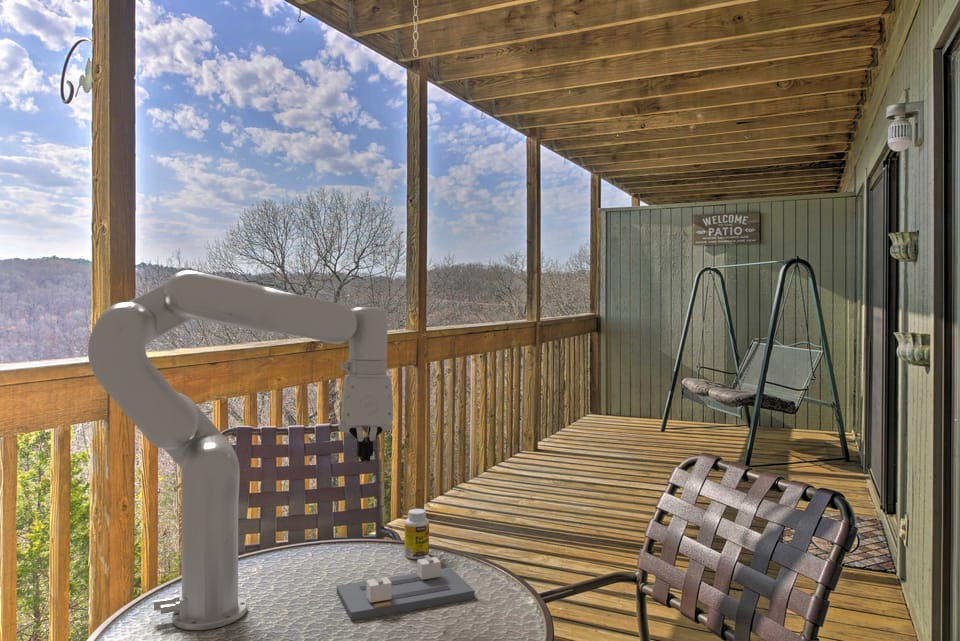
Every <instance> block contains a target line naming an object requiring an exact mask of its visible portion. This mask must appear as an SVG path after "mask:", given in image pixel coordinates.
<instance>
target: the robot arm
mask: <svg viewBox="0 0 960 641" xmlns="http://www.w3.org/2000/svg"><path fill="white" fill-rule="evenodd" d="M192 320H199V321H204V322H209V323H214V324H220V325H225V326H228V327H229V326H230V327H234V328H238V329H239V328H240V329H244V330H250V331H254V332H260V333H275V334H277V333H279V334H284V335H290V336H295V337H300V338H307V339H311V340H315V341H316V340H317V341H320V342H321V343H322V342H323V343H327V344H328V343H329V344H334V345H335V344H336V345H337V344H343V343H346V342H348V343H349V344H348V359H347V360H346V362H341V363H340V369H341V370H344V371H346V372H347V374H345V375H344V378H343V382H342V388H341V394H340V404H339V423H338V426H337V427H338V428H337V429H338V431H339V432H342V433H348V434H350V435H352V436H353V438H355V439H356V457H358V459H359V461H360V462H362V463H364V462H365V461H366V462H371V457H373V456H374V442H375V441H376V438H377V437H379V435H380V434H381V433H384V432H388V431H391V430H393V420H394V399H393V397H394V396H393V386H392V385H393V384H392V378H391V375H387V359H388V358H387V357H388V354H387V353H388V332H389V331H388V326H389V321H388V320H389V314H388V311H387V310H386V309H384V307H383V308H382V307H375V306H373V307H372V306H369V307H368V306H358V307H354V308H353V307H352V308H351V307H349V306H346V305H345V304H341V303H338V302H335V301H334V302H333V301H329V300H326V299H325V300H324V299H320V298H316V297H310V296H306V295H302V294H301V295H300V294H296V293H293V292H288V291H284V290H280V289H276V288H273V287H269V286H263V285H260V284H256V283H255V284H254V283H250V282H246V281H241V280H236V279H232V278H227V277H224V276H223V277H222V276H219V275H215V274H209V273H205V272H202V271H201V272H200V271H197V270H182V271H178V272H175V274H173V275H171V277H170V278H169V279H168V280H167V281H165V282H164V283H162V284H160V285H159V286H157V287H155V288H153V289H151V290H149V291H147V292H145V293H143V294H141V295H139V296H138V297H135V298H133V299H131V300H128V301H125V302H118V303H115V304H113V305H110V306H109V307H108V308H106V309H105V310H103V312H102V313H101V314H100V315H99V317H98V318H97V320H96V322H95V323H94V326H93V328H92V330H91V332H90V336H89V339H88V344H87V355H88V356H87V357H88V361H89V367H90V368H91V371H92V373H93V375H94V377H95V379H96V380H97V382H98V384H100V386H101V387H102V388H103V390H104V391H105V392H106V393H107V394H108V396H110V398H112V400H113V401H114V402H115V403H116V404H117V406H118V407H119V408H120V410H121V411H122V412H123V413H124V414H125V415H126V416H127V418H129V420H130V421H131V422H132V423H133V425H135V427H137V429H138V430H139V431H140V433H142V434H143V436H144V438H146V440H147V441H148V442H149V443H150V444H152V445H153V446H155V447H157V448H158V449H163V450H164V452H166V453H167V454H168V455H169V456H170V458H172V460H174V462H176V464H177V465H178V466H179V467H180V468H181V475H180V477H181V478H180V480H181V483H180V484H181V588H179V593H178V594H173V597H167V598H165V597H163V598H155V599H153V612H156V611H160V615H164V614H169V613H172V615H171V619H172V620H171V621H172V624H173V625H174V626H175V627H177V628H180V629H182V630H187V631H204V630H205V631H206V630H212V629H216V628H217V629H218V628H221V627H224V626H226V625H230V624H233V623H235V622H236V621H238V620H240V619H241V618H242V617H243V616H244V615H245V614H246V613H247V611H248V602H247V600H245V599H244V598H242V597H241V596H239V495H240V493H239V492H240V478H241V476H240V475H241V472H240V470H241V469H240V463H239V458H238V455H237V454H236V450H235V449H234V447H233V445H232V444H231V443H230V441H229V440H228V439H227V438H226V437H225V435H224V434H223V433H222V432H221V431H220V430H219V429H218V427H217V426H216V425H215V424H214V423H213V422H212V421H211V420H210V418H209V417H208V416H207V415H206V414H205V413H204V411H202V409H201V408H200V407H199V405H197V404H196V403H195V402H194V400H192V399H191V398H190V397H189V396H187V395H186V394H184V393H181V392H178V391H177V390H176V389H175V388H174V387H173V386H172V385H171V383H169V382H168V380H167V379H166V378H165V377H164V375H163V374H162V373H161V372H160V370H159V369H158V368H157V367H156V366H155V365H154V364H153V363H152V361H151V360H150V359H149V357H148V355H147V351H146V346H147V345H148V344H151V342H153V341H154V340H157V339H159V338H161V337H162V336H164V335H166V334H168V333H170V332H171V331H174V330H176V329H177V328H179V327H181V326H182V325H185V324H186V323H188V322H191V321H192ZM363 427H366V428H367V431H366V432H367V433H366V436H365V437H364V429H363Z"/></svg>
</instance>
